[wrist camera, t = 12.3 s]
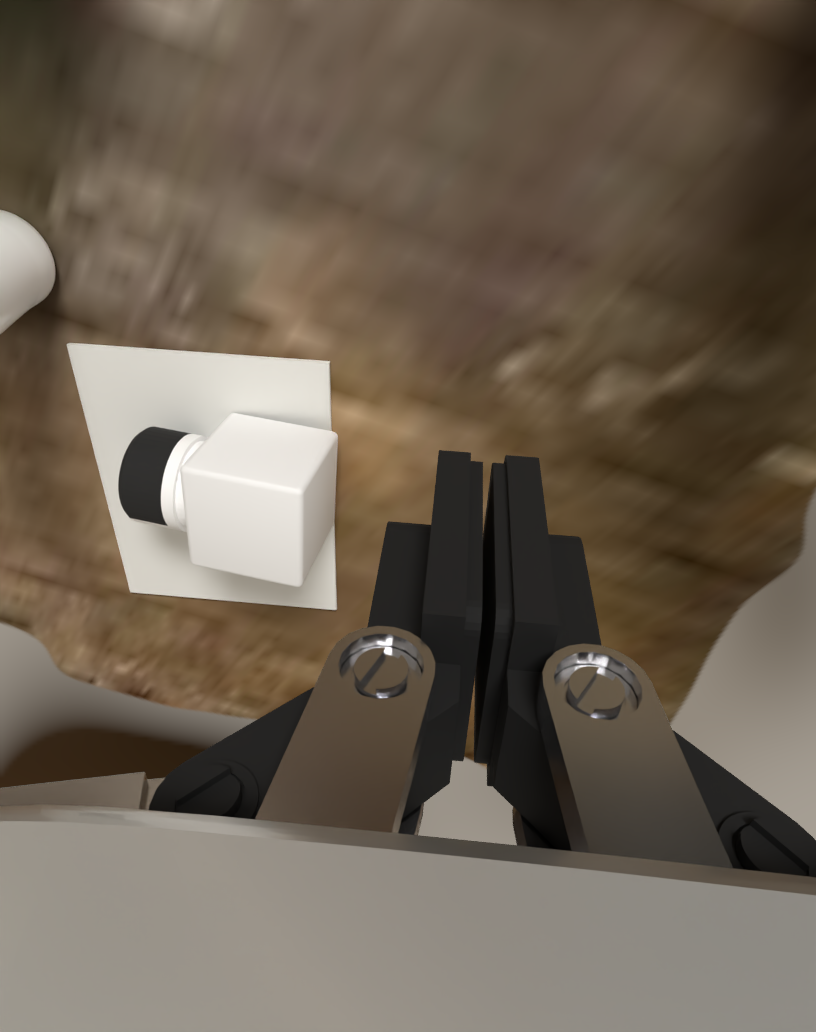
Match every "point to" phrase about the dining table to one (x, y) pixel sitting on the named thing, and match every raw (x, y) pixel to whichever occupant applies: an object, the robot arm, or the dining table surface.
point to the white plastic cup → (22, 268)
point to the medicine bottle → (237, 493)
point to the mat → (197, 410)
